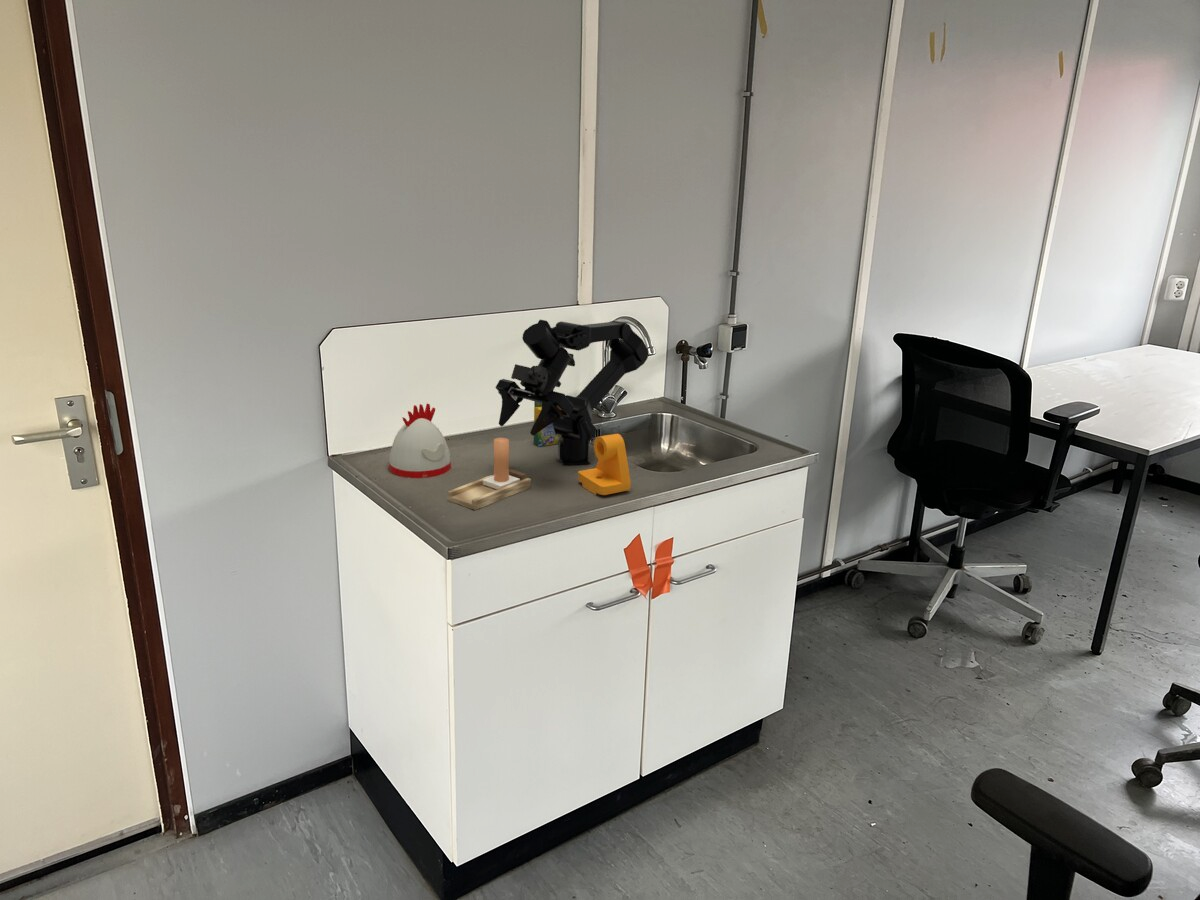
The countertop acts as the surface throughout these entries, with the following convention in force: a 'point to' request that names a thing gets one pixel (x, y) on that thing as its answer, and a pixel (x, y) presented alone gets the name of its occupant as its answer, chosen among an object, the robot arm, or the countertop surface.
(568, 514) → the countertop surface
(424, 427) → the kitchen timer
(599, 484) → the bracket
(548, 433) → the crayon box
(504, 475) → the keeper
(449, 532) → the countertop surface
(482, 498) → the wooden tray
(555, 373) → the robot arm
